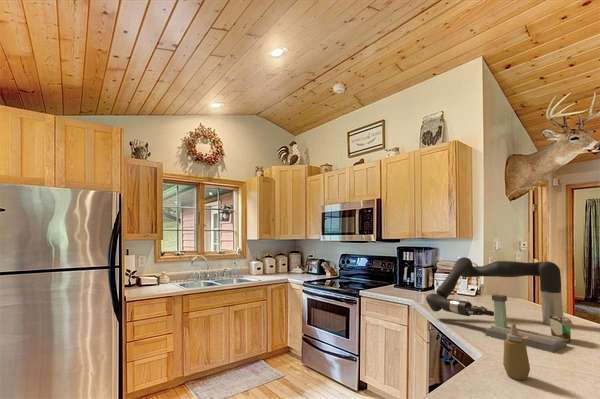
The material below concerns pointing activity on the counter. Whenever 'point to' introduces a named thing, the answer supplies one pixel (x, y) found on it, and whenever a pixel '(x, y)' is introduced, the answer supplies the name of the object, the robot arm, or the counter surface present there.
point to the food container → (560, 327)
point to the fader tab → (500, 310)
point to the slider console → (530, 338)
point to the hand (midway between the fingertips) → (493, 313)
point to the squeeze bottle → (515, 356)
